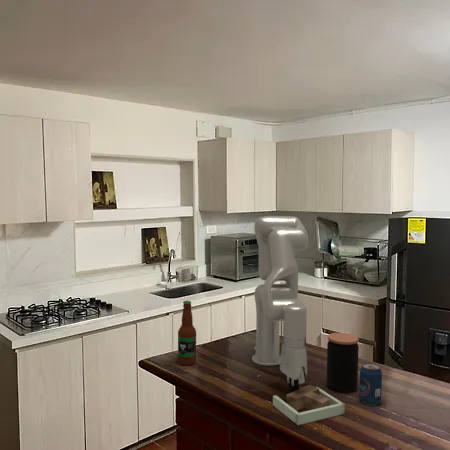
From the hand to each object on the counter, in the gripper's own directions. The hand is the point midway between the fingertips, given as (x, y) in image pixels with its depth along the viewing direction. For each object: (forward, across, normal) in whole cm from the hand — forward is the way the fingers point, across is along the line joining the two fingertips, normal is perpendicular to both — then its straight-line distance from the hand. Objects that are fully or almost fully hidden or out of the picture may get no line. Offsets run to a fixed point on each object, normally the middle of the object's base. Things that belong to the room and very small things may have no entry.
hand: (293, 395), depth 151 cm
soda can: (+1, +12, +22) cm, 25 cm away
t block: (+1, +8, +2) cm, 8 cm away
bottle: (+2, -45, -21) cm, 50 cm away
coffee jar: (+1, -1, +21) cm, 21 cm away
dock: (+1, +8, 0) cm, 8 cm away
